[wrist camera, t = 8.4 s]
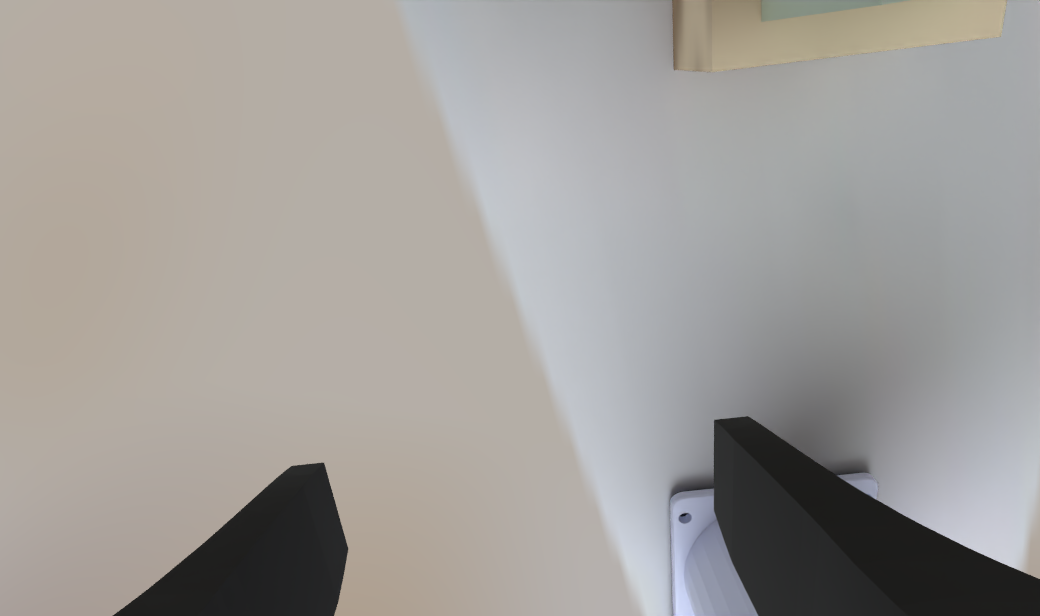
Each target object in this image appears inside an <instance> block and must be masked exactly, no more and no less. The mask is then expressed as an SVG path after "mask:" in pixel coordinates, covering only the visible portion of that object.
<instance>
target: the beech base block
mask: <svg viewBox="0 0 1040 616" xmlns="http://www.w3.org/2000/svg"><path fill="white" fill-rule="evenodd" d="M672 3H673V54H674V70H684V71H701V72H717V71H726V70H734V69H742V68H750V67H758V66H766V65H774V64H783V63H791V62H799V61H807V60H815V59H823V58H831V57H840V56H848V55H856V54H864V53H872V52H880V51H888V50H896V49H905V48H913V47H921V46H929V45H937V44H945V43H953V42H962V41H970V40H978V39H986V38H994V37H1001V33H1002V27H1003V21H1004V15H1005V9H1006V3H1007V0H909V1H903V2H897V3H890V4H884V5H878V6H871V7H864V8H857V9H850V10H842V11H835V12H828V13H821V14H814V15H807V16H800V17H793V18H786V19H779V20H772V21H765V22H761V0H672Z"/></svg>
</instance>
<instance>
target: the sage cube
mask: <svg viewBox="0 0 1040 616" xmlns="http://www.w3.org/2000/svg"><path fill="white" fill-rule="evenodd" d="M903 1H909V0H761V22H765V21H772V20H779V19H786V18H793V17H800V16H807V15H814V14H821V13H828V12H835V11H842V10H850V9H857V8H864V7H871V6H878V5H884V4H890V3H897V2H903Z"/></svg>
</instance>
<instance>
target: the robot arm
mask: <svg viewBox="0 0 1040 616" xmlns="http://www.w3.org/2000/svg"><path fill="white" fill-rule="evenodd" d="M878 487H879V486H878V482H877V481H876V479H875V478H874V477H873V476H872V475H871V474H869V473H854V474H845V475H835V474H833V473H832V472H830V471H829V470H827V469H826V468H824V467H823V466H821V465H820V464H818V463H816V462H815V461H813V460H812V459H810V458H809V457H808V456H806V455H805V454H803V453H802V452H800V451H799V450H797V449H796V448H794V447H793V446H791V445H790V444H788V443H787V442H785V441H784V440H783V439H781V438H780V437H778V436H777V435H775V434H774V433H772V432H771V431H769V430H768V429H767V428H765V427H764V426H762V425H761V424H759V423H758V422H756V421H754V420H753V419H751V418H750V417H748V416H747V417H738V418H729V419H720V420H714V488H713V489H704V490H694V491H685V492H680V493H677V494H675V495H674V496H673V497H672V498H671V500H670V526H671V561H672V596H673V616H1040V579H1038V578H1035V577H1033V576H1031V575H1028V574H1026V573H1024V572H1021V571H1019V570H1017V569H1014V568H1012V567H1009V566H1007V565H1005V564H1002V563H1000V562H998V561H995V560H993V559H991V558H989V557H987V556H984V555H982V554H980V553H978V552H976V551H973V550H971V549H969V548H967V547H965V546H963V545H961V544H959V543H957V542H955V541H953V540H951V539H949V538H947V537H945V536H943V535H941V534H939V533H937V532H935V531H933V530H931V529H929V528H927V527H925V526H923V525H921V524H919V523H917V522H915V521H913V520H911V519H910V518H908V517H906V516H904V515H902V514H900V513H898V512H897V511H895V510H893V509H892V508H890V507H888V506H886V505H885V504H883V503H881V502H879V501H878V500H877V495H878ZM683 513H688V514H687V515H686V516H683V517H681V516H680V515H681V514H683ZM347 553H348V547H347V543H346V539H345V536H344V533H343V529H342V525H341V522H340V518H339V515H338V511H337V507H336V504H335V500H334V497H333V493H332V490H331V486H330V483H329V479H328V475H327V472H326V468H325V465H324V463H317V464H306V465H297V466H291V467H290V468H289V469H287V470H286V471H285V472H283V474H281V475H280V476H279V477H278V478H276V479H275V480H274V481H273V482H272V483H271V484H270V485H268V487H266V488H265V489H264V490H263V491H262V492H261V493H259V494H258V495H257V496H256V497H255V498H254V499H253V500H252V501H251V502H250V503H248V504H247V505H246V506H245V507H244V508H243V509H242V510H241V511H240V512H238V513H237V514H236V515H235V516H234V517H233V518H232V519H231V520H229V521H228V522H227V523H226V524H225V525H224V526H223V527H222V528H221V529H219V530H218V531H217V532H216V533H215V534H214V535H213V536H211V537H210V538H209V539H208V540H207V541H206V542H205V543H203V544H202V545H201V546H200V547H199V548H197V549H196V550H195V551H194V552H193V553H191V554H190V555H189V556H188V557H187V558H185V559H184V560H183V561H182V562H181V563H179V564H178V565H177V566H176V567H175V568H173V569H172V570H171V571H170V572H169V573H167V574H166V575H165V576H164V577H163V578H161V579H160V580H159V581H158V582H156V583H155V584H154V585H153V586H151V587H150V588H149V589H148V590H146V591H145V592H144V593H142V594H141V595H140V596H139V597H138V598H136V599H135V600H133V601H132V602H131V603H129V604H128V605H127V606H125V607H124V608H123V609H121V610H120V611H119V612H117V613H116V614H115V615H113V616H334V613H335V610H336V607H337V604H338V600H339V595H340V590H341V585H342V581H343V575H344V570H345V564H346V558H347Z"/></svg>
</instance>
